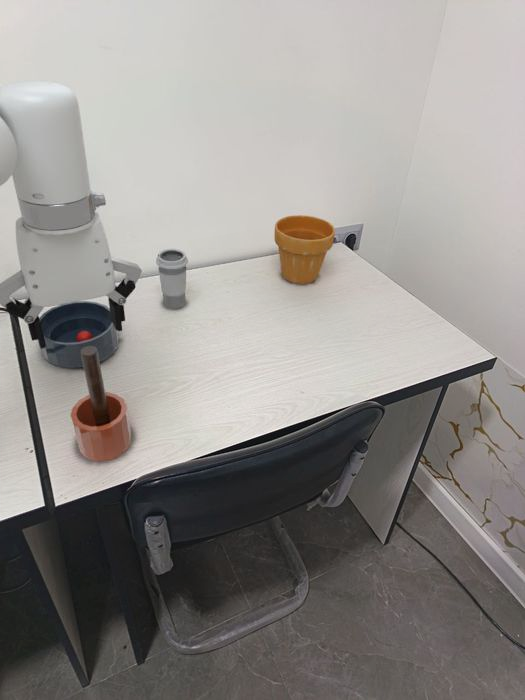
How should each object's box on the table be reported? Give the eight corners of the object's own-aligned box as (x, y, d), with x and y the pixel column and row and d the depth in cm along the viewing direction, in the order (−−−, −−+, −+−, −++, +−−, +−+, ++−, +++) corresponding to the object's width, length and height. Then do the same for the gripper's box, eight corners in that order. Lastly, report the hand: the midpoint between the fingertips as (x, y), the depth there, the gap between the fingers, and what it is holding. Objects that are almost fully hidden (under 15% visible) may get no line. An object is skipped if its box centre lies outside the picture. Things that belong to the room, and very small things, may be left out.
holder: (85, 468, 74) (77, 437, 70) (74, 432, 80) (66, 401, 75) (137, 450, 78) (133, 419, 73) (123, 417, 83) (118, 386, 79)
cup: (159, 295, 113) (155, 247, 106) (188, 294, 114) (186, 247, 107) (159, 312, 108) (155, 263, 100) (190, 311, 109) (188, 262, 101)
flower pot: (266, 262, 128) (270, 215, 120) (319, 261, 131) (325, 214, 123) (277, 291, 118) (281, 241, 110) (334, 289, 120) (342, 239, 112)
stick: (101, 447, 77) (82, 357, 65) (97, 438, 78) (78, 348, 67) (115, 442, 78) (99, 352, 66) (111, 433, 79) (94, 344, 68)
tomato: (74, 341, 93) (89, 349, 94) (82, 327, 94) (96, 335, 95) (72, 341, 96) (86, 349, 97) (80, 328, 97) (94, 336, 98)
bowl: (49, 378, 89) (42, 352, 86) (36, 335, 99) (30, 310, 95) (127, 358, 95) (124, 333, 91) (108, 319, 105) (104, 295, 101)
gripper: (125, 189, 61) (136, 306, 71) (-33, 205, 54) (5, 333, 64) (144, 212, 56) (153, 334, 66) (-28, 233, 49) (12, 367, 59)
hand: (80, 333), depth 65 cm, fingers open, 9 cm apart
